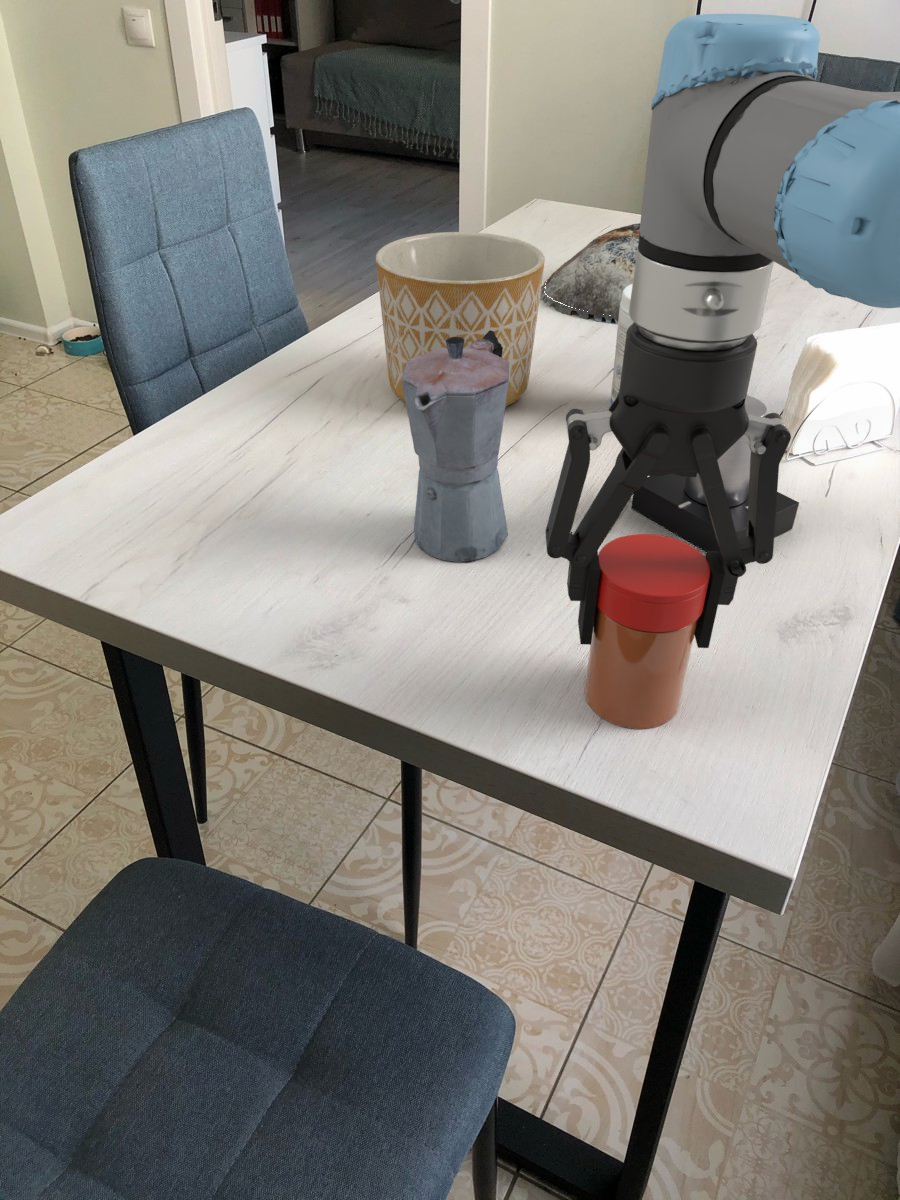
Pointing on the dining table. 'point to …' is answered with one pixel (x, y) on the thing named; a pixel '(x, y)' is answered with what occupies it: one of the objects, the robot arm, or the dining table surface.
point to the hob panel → (698, 511)
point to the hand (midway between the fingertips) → (642, 634)
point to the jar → (636, 672)
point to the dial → (732, 465)
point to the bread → (596, 276)
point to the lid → (652, 582)
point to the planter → (459, 298)
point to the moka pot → (458, 447)
